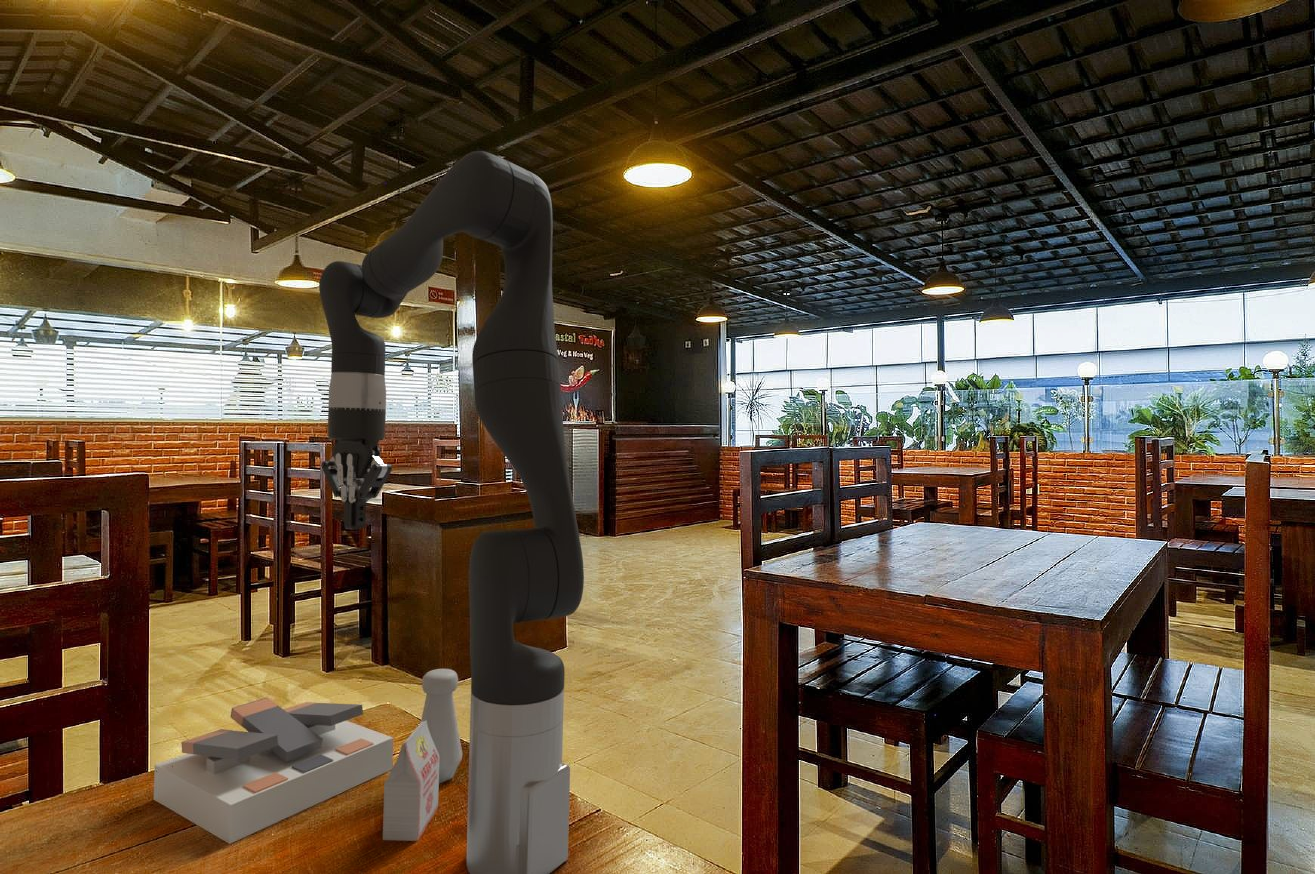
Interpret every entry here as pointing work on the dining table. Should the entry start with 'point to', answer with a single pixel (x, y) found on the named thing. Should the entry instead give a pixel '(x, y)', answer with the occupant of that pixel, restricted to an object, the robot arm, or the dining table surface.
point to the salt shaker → (442, 719)
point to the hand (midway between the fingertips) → (354, 528)
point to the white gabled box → (412, 788)
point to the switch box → (270, 780)
